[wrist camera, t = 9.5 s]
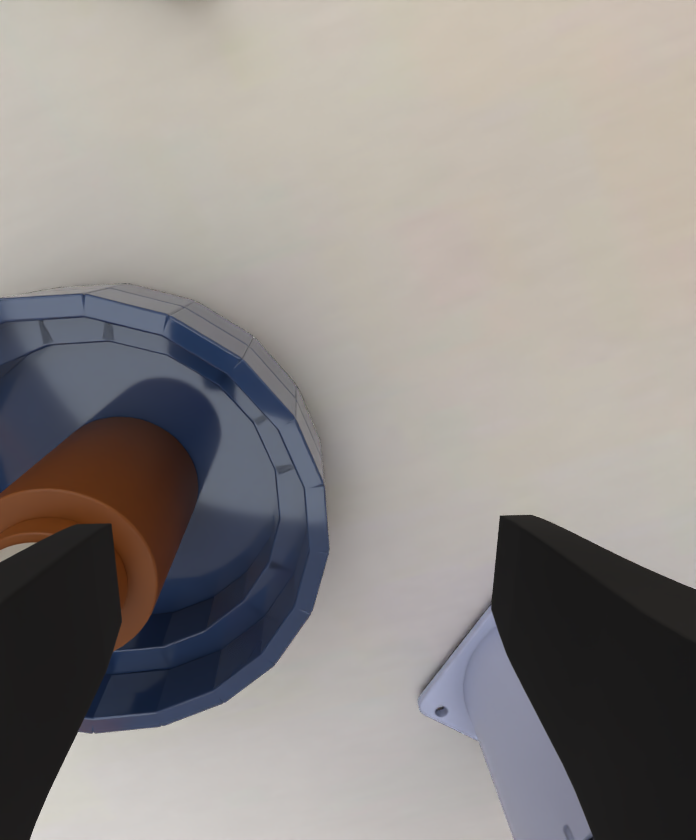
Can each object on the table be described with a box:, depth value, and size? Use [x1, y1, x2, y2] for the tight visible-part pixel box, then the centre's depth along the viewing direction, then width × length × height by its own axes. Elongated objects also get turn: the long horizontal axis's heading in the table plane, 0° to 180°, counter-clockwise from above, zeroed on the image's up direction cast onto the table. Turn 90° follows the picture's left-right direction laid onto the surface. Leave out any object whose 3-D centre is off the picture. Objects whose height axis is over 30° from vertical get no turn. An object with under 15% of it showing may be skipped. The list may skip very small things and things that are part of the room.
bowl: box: [0, 283, 329, 734], centre depth 18 cm, size 13×13×4 cm
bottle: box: [0, 417, 198, 651], centre depth 16 cm, size 5×5×8 cm
